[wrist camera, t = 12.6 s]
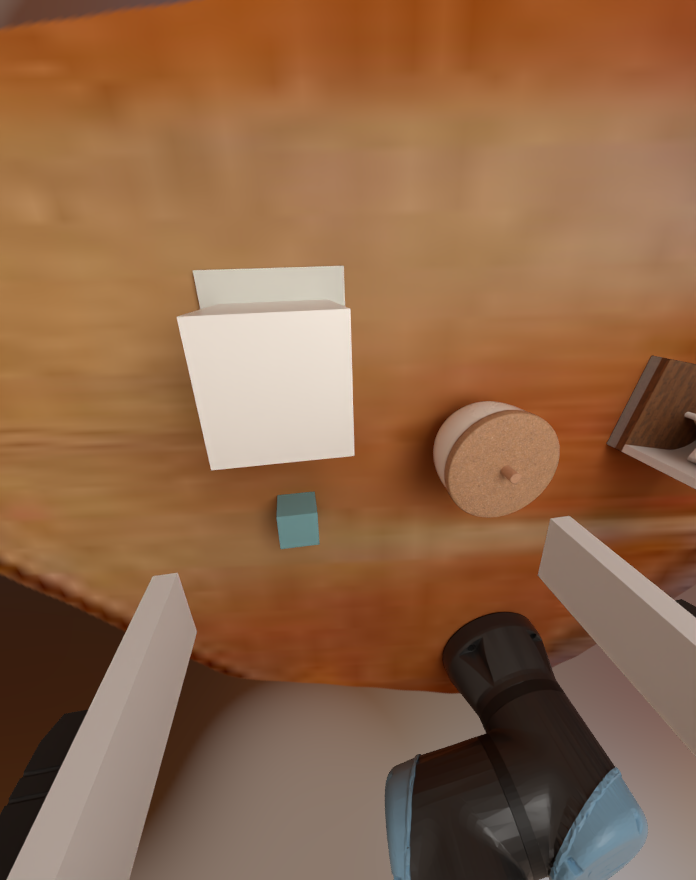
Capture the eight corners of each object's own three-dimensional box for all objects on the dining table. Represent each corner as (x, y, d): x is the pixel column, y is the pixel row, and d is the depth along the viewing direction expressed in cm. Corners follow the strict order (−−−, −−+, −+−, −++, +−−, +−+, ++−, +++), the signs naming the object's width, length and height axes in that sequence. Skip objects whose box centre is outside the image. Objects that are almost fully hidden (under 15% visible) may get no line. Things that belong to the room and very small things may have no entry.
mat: (348, 420, 35) (348, 422, 35) (225, 431, 34) (224, 433, 33) (342, 266, 29) (343, 265, 29) (194, 270, 28) (192, 270, 27)
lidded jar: (406, 412, 36) (443, 451, 27) (503, 371, 36) (569, 399, 27) (432, 491, 41) (470, 546, 32) (517, 456, 40) (578, 501, 32)
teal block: (316, 520, 40) (319, 544, 36) (281, 524, 39) (280, 549, 36) (314, 491, 38) (317, 512, 35) (277, 494, 38) (276, 517, 34)
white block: (332, 399, 33) (354, 455, 23) (236, 407, 32) (211, 470, 22) (327, 299, 30) (350, 308, 19) (218, 303, 29) (176, 316, 18)
